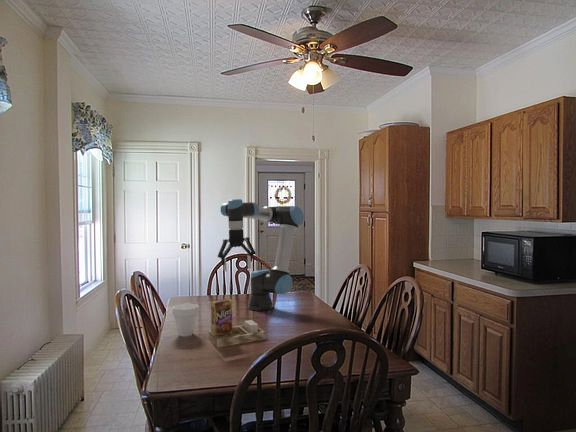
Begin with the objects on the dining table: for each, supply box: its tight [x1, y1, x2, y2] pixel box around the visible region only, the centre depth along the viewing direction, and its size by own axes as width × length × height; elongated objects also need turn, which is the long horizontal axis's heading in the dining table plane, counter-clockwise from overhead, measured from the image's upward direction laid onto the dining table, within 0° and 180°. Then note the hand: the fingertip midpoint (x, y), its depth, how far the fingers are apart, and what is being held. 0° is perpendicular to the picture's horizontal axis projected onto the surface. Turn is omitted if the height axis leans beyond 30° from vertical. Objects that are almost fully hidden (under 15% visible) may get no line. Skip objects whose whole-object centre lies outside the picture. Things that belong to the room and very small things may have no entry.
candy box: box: [210, 298, 233, 336], centre depth 177 cm, size 9×4×15 cm, turn 123°
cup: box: [172, 303, 199, 338], centre depth 190 cm, size 12×12×14 cm
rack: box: [207, 324, 267, 348], centre depth 181 cm, size 23×16×4 cm
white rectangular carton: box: [243, 319, 259, 333], centre depth 184 cm, size 4×8×6 cm, turn 28°
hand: (237, 269), depth 202 cm, fingers open, 13 cm apart
